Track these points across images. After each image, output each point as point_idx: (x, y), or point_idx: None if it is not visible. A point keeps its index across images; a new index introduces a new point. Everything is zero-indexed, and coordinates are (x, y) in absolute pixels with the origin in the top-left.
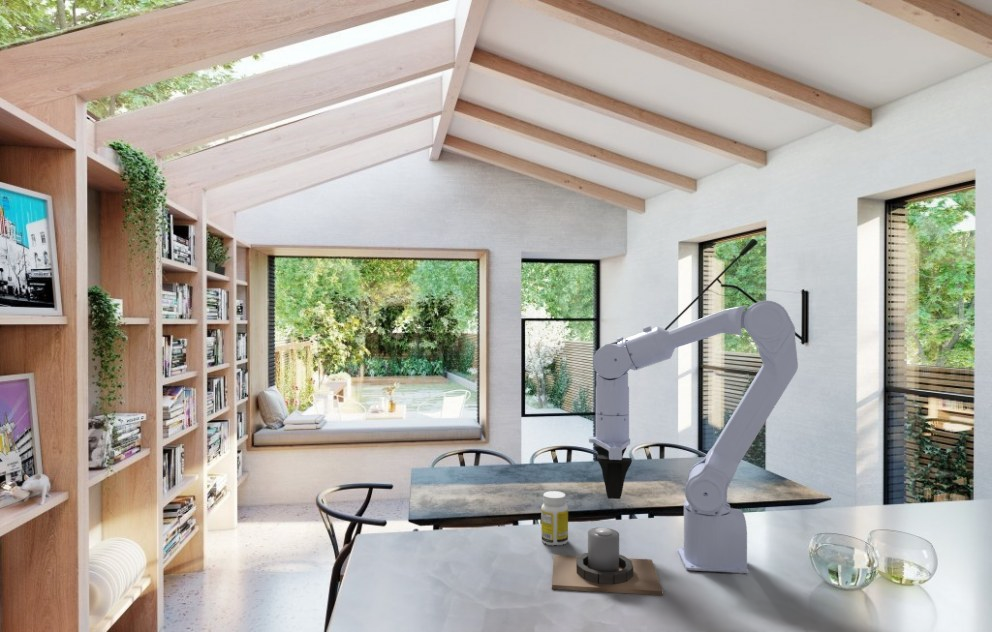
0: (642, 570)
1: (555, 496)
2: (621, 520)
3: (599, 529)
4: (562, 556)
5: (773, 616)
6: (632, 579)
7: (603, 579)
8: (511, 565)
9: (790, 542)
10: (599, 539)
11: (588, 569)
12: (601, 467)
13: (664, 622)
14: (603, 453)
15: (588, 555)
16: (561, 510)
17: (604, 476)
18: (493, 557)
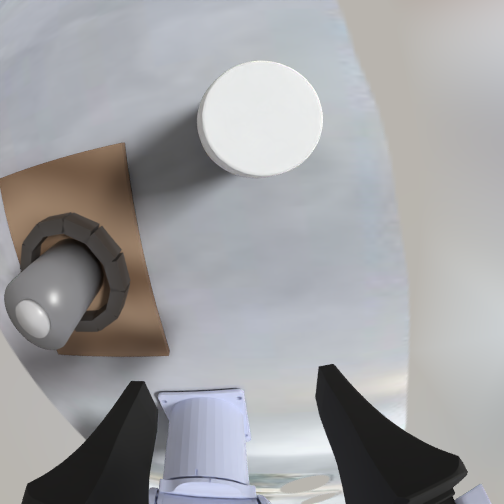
0: (111, 337)
1: (228, 126)
2: (405, 289)
3: (32, 311)
4: (116, 167)
5: (85, 429)
6: None
7: None
8: (71, 60)
9: (302, 466)
10: (6, 304)
11: (27, 250)
12: (45, 474)
13: (6, 338)
14: (371, 486)
15: (42, 255)
16: (210, 156)
17: (79, 447)
18: (108, 7)
